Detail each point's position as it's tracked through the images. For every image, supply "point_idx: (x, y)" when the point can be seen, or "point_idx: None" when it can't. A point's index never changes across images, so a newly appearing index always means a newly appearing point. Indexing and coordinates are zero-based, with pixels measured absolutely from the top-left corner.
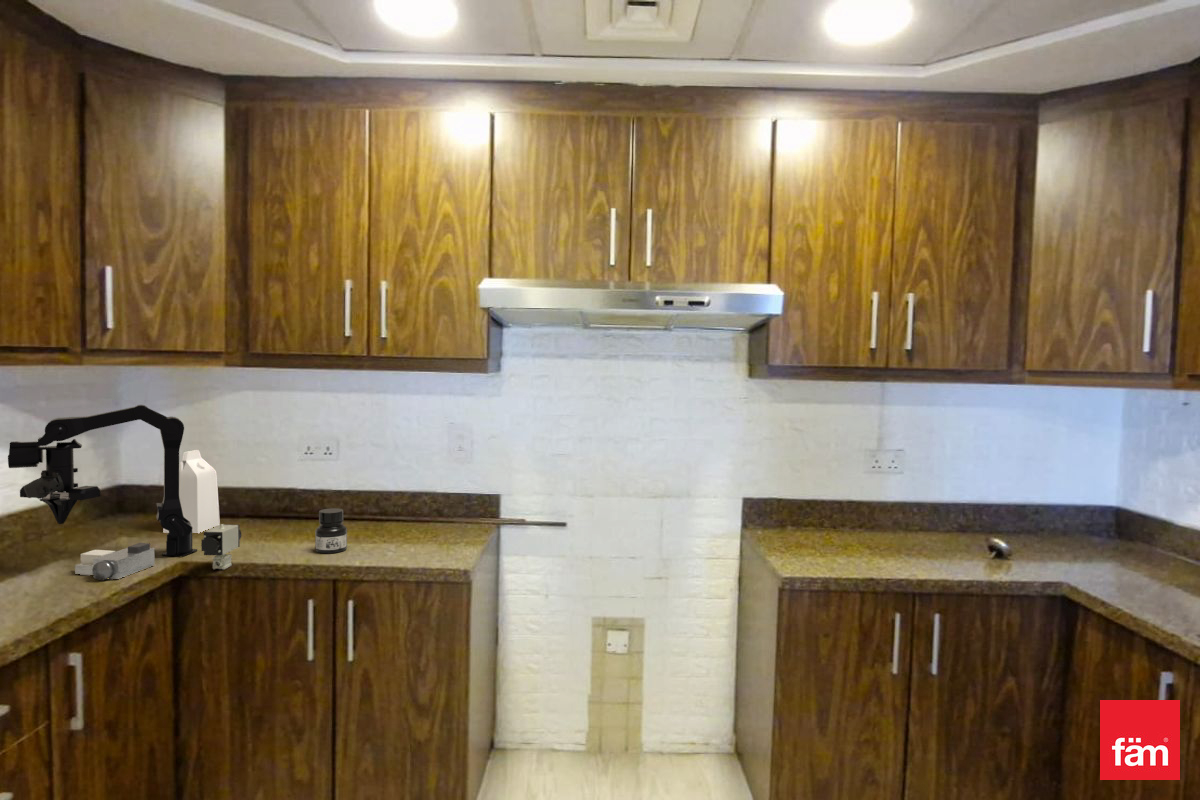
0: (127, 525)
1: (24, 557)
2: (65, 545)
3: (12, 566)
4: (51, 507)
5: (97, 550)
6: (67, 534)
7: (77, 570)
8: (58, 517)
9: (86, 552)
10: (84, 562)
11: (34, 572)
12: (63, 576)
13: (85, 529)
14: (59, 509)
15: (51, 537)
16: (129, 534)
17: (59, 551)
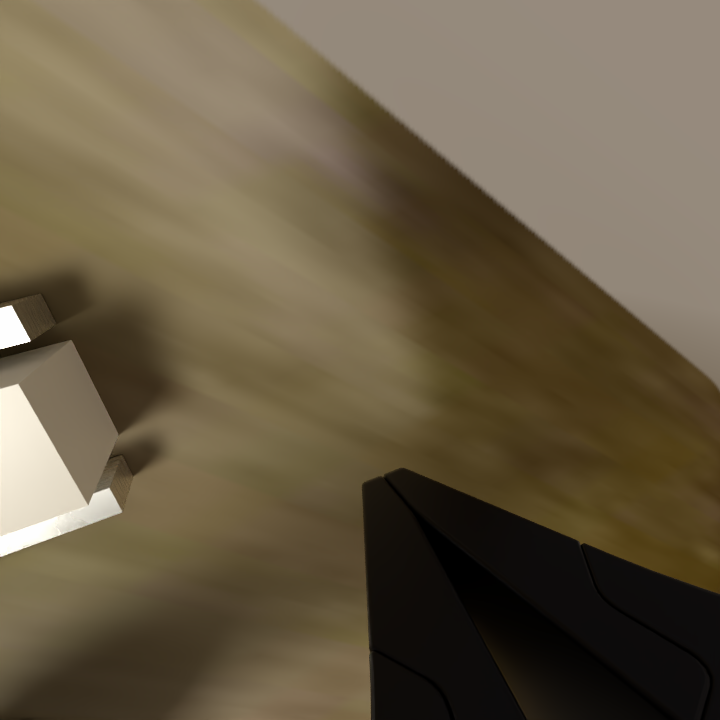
0: None
1: (595, 351)
2: (592, 510)
3: (529, 243)
4: (712, 629)
5: (35, 507)
6: (681, 560)
7: (6, 303)
8: (415, 528)
9: (40, 434)
10: (8, 371)
11: (333, 217)
12: (65, 233)
13: None
14: (452, 715)
15: (698, 519)
16: None
17: (548, 465)
